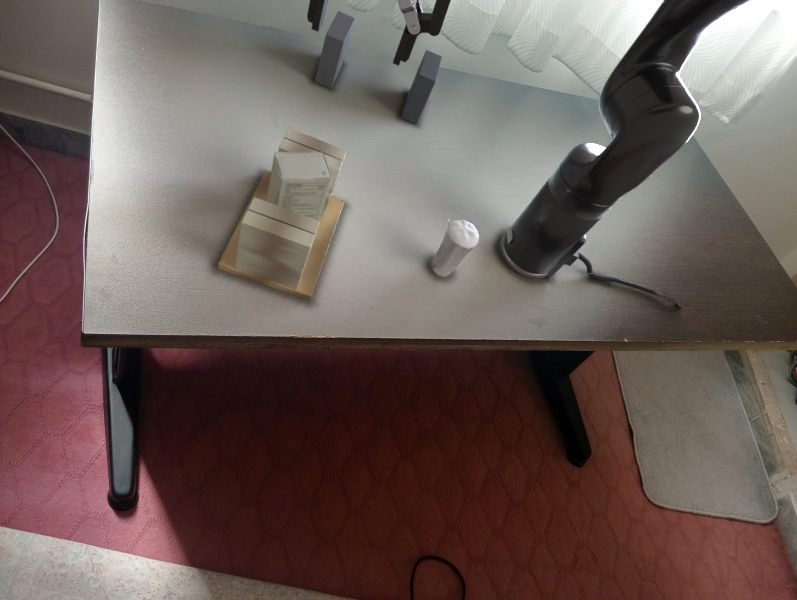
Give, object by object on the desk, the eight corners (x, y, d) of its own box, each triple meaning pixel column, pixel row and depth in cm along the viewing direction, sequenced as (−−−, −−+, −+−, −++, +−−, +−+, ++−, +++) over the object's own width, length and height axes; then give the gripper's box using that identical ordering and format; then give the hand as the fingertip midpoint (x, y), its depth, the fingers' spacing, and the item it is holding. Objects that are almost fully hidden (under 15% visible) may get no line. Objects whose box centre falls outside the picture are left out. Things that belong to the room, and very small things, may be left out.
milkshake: (421, 251, 80) (448, 206, 72) (454, 259, 81) (484, 216, 73) (421, 275, 77) (448, 232, 69) (455, 283, 79) (486, 242, 71)
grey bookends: (423, 98, 100) (442, 56, 93) (416, 124, 96) (435, 81, 89) (326, 57, 97) (338, 10, 90) (314, 81, 93) (325, 34, 85)
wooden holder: (343, 205, 80) (361, 155, 72) (309, 300, 69) (326, 254, 61) (264, 175, 78) (274, 120, 70) (217, 268, 67) (222, 217, 59)
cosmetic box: (306, 216, 75) (325, 151, 65) (313, 241, 73) (334, 178, 63) (260, 217, 72) (273, 150, 63) (267, 243, 70) (281, 178, 61)
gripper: (309, -174, 38) (278, 34, 51) (491, -87, 40) (417, 92, 53) (334, -200, 43) (300, -2, 55) (497, -120, 45) (428, 52, 58)
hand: (357, 44), depth 54 cm, fingers open, 8 cm apart
